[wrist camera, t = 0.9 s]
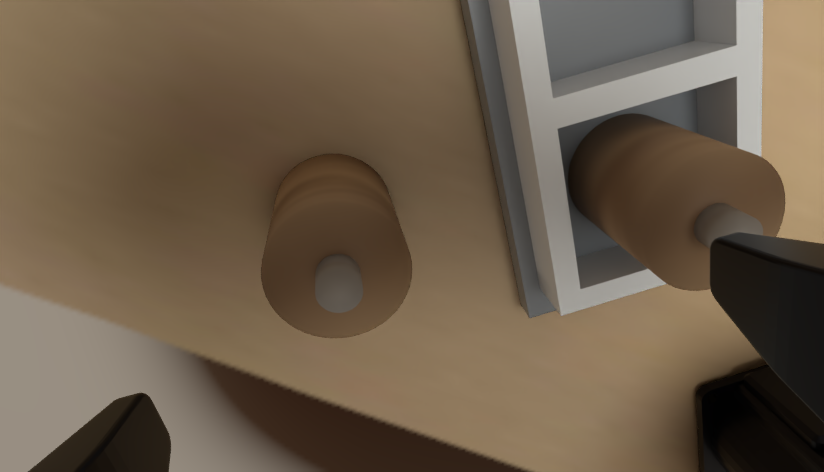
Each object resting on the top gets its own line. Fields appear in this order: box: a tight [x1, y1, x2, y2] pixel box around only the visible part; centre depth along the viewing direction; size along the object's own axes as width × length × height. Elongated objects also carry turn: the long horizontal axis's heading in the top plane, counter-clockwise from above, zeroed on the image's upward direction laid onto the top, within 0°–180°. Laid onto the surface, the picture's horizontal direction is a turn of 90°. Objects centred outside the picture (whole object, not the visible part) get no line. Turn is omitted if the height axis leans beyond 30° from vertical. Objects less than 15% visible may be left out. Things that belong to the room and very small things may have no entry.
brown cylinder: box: [261, 154, 412, 338], centre depth 17 cm, size 4×4×6 cm
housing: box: [460, 0, 763, 318], centre depth 18 cm, size 16×8×3 cm, turn 15°
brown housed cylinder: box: [568, 113, 785, 291], centre depth 17 cm, size 4×4×6 cm
